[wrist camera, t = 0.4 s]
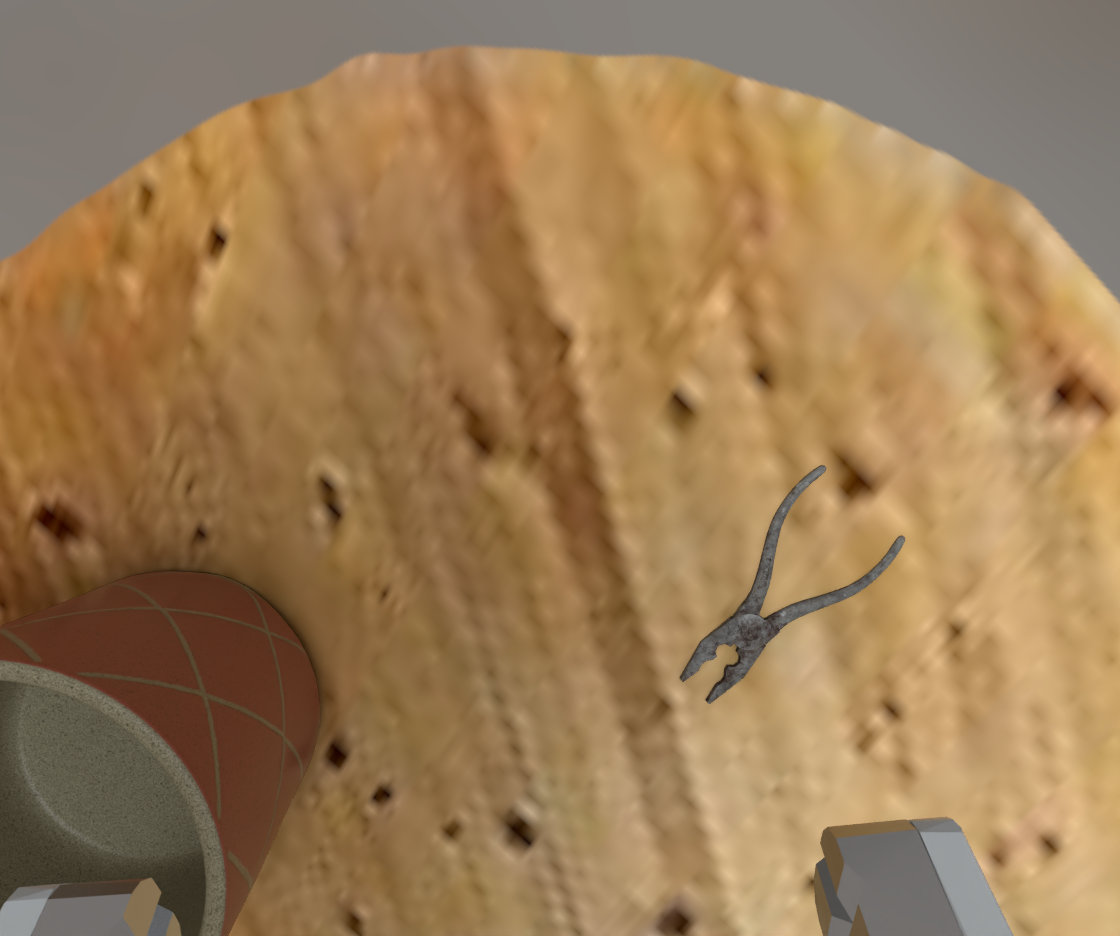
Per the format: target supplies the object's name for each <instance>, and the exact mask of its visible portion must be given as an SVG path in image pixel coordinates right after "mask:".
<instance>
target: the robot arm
mask: <svg viewBox="0 0 1120 936" xmlns="http://www.w3.org/2000/svg"><path fill="white" fill-rule="evenodd" d="M820 844H821V847H822V850H823V853H824V858H823V859H822V860H821V861H819V862H818V863H817V864H816V868H815V875H814V892H815V904H816V908H817V913H818V918H819V923H820V926H821V930H822V933H823V936H1013V934H1012V932H1011V930H1010V928H1009V926H1008V924H1007V921H1006V919H1005V917H1004V915H1003V913H1002V911H1001V909H1000V907H999V905H998V903H997V901H996V899H995V897H994V895H993V893H992V891H991V889H990V887H989V885H988V882H987V880H986V878H985V876H984V874H983V872H982V870H981V868H980V866H979V864H978V862H977V860H976V858H975V856H974V854H973V852H972V850H971V848H970V846H969V843H968V841H967V839H966V837H965V835H964V833H963V831H962V829H961V827H960V826H959V825H958V824H957V823H956V822H955V821H954V820H953V819H951V818H948V817H939V818H926V819H914V820H895V821H885V822H874V823H864V824H853V825H843V826H832V827H827V828H826V829H824V830H823V833H822V837H821V842H820ZM160 895H161V891H160V889H159V888H158V886H157V885H156V883H155V882H154V880H153V879H152V878H139V879H126V880H112V881H99V882H86V883H63V884H51V885H40V886H29V887H18V888H17V890H16V891H15V892H14V893H13V894H12V895H11V896H10V897H9V898H8V900H7V901H6V902H5V903H4V904H3V906H2V908H1V910H0V936H181V930H180V925H179V922H178V920H177V918H176V917H175V915H174V913H173V912H172V911H170V910H168V909H166V908H164V907H162V906H160V905H158V901H159V898H160Z"/></svg>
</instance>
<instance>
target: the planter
mask: <svg viewBox="0 0 1120 936" xmlns="http://www.w3.org/2000/svg"><path fill="white" fill-rule="evenodd" d="M319 727H320V700H319V693H318V687H317V682H316V678H315V675H314V671H313V668H312V666H311V663H310V660H309V658H308V656H307V654H306V652H305V650H304V648H303V646H302V644H301V642H300V641H299V639H298V638H297V636H296V635H295V633H294V632H293V630H292V629H291V628H290V626H289V625H288V624H287V623H286V622H285V620H284V619H283V618H282V617H281V616H280V615H279V614H278V613H277V612H276V611H275V610H274V609H273V608H272V607H271V606H270V605H269V604H268V603H267V602H266V601H265V600H264V599H262V598H261V597H260V596H259V595H258V594H256V593H255V592H254V591H252V590H251V589H249V588H248V587H246V586H244V585H243V584H241V583H239V582H237V581H235V580H232V579H230V578H227V577H224V576H221V575H216V574H208V573H196V572H181V571H163V572H152V573H145V574H139V575H135V576H131V577H127V578H124V579H121V580H118V581H115V582H112V583H110V584H107V585H105V586H102V587H100V588H98V589H95V590H93V591H91V592H88V593H86V594H83V595H81V596H78V597H75V598H73V599H70V600H68V601H65V602H63V603H60V604H58V605H55V606H53V607H50V608H47V609H45V610H42V611H39V612H37V613H34V614H31V615H28V616H26V617H23V618H20V619H18V620H15V621H12V622H10V623H7V624H4V625H2V626H0V910H1V908H2V906H3V904H4V903H5V902H6V901H7V900H8V898H9V897H10V896H11V895H12V894H13V893H14V892H15V891H16V890H17V888H18V887H29V886H40V885H51V884H63V883H86V882H99V881H112V880H126V879H139V878H152V879H153V880H154V882H155V883H156V885H157V886H158V888H159V889H160V891H161V895H160V898H159V901H158V905H160V906H162V907H164V908H166V909H168V910H170V911H172V912H173V913H174V915H175V917H176V918H177V920H178V922H179V925H180V930H181V936H228V935H229V933H230V931H231V929H232V927H233V925H234V923H235V921H236V919H237V917H238V915H239V913H240V911H241V909H242V907H243V905H244V903H245V901H246V899H247V897H248V895H249V893H250V890H251V888H252V886H253V884H254V882H255V880H256V878H257V876H258V874H259V872H260V870H261V868H262V865H263V863H264V861H265V859H266V856H267V854H268V852H269V850H270V847H271V845H272V843H273V840H274V838H275V836H276V834H277V831H278V829H279V827H280V825H281V823H282V820H283V818H284V816H285V814H286V812H287V810H288V808H289V805H290V803H291V801H292V799H293V797H294V795H295V793H296V790H297V788H298V786H299V784H300V782H301V780H302V778H303V776H304V774H305V772H306V770H307V767H308V765H309V762H310V760H311V757H312V754H313V751H314V747H315V744H316V740H317V736H318V732H319Z"/></svg>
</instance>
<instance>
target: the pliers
mask: <svg viewBox="0 0 1120 936" xmlns="http://www.w3.org/2000/svg"><path fill="white" fill-rule="evenodd" d="M825 471H826V467H825V466H819V467H818V468H816V469H814V470H813V471H812V472H810V473H809V474H808V475H807V476H805V477H804V478H803V479H802V480H801V481H800V482H799V483H798V484H797V485H796V486H795V487H794V488H793V489H792V491H791V492H790V493H789V494H788V496H787V497H786V498H785V499H784V501H783V502H782V504H781V505H780V507H779V508H778V510H777V512H776V514H775V516H774V518H773V520H772V522H771V525H770V527H769V530H768V533H767V537H766V541H765V545H764V548H763V552H762V556H761V560H760V564H759V568H758V572H757V575H756V578H755V581H754V584H753V586H752V589H751V591H750V593H749V594H748V596H747V598H746V599H745V601H744V602H743V603H742V604H741V606H740V607H739V609H738V610H737V611H736V613H735V614H734V615H733V617H730V618H729V619H728V620H727V621H725V622H724V623H723V624H722V625H720V626H719V627H718V628H717V629H715V630H714V631H713V632H712V633H710V634H709V635H708V636H706V637H705V638H704V639H703V640H701V642H700V643H699V645H698V647H697V649H696V650H695V652H694V654H693V656H692V657H691V659H690V661H689V663H688V664H687V666H686V668H685V670H684V671H683V673H682V675H681V677H680V678H681V680H682V682H684V681H685V680H687V679H688V678H689V677H691V676H692V675H693V674H695V673H696V672H697V671H699V669H700V668H699V667H700V666H701V665H702V663H703V662H705V661H708V660H713V659H714V658H716V657H717V655H716V649H717V647H718V646H719V645H722V644H726V645H728V646H732V645H733V644H735V645H736V646H737V649H736V651H737V653H738V654H739V660H738V662H737V663H735V664H734V665H727V666H726V667H725V671H724V673H725V674H724V677H723V678H722V679H721V681H719V682H717V683H716V684H715V686H714V687H713V689H712V691H711V692H710V694H709V696H708V697H707V699H706V701H707V703H709V704H710V703H712V702H713V701H714V700H716V699H717V698H718V697H719V696H721V695H722V694H723V693H725V692H726V691H727V690H728V689H730V688H731V687H732V686H734V685H735V684H736V683H737V682H739V681H740V680H741V679H743V678H744V676H745V675H746V674H747V672H748V671H749V669H750V668H751V667H752V665H753V664H754V662H755V661H756V660H757V658H758V657H759V655H760V654H761V652H762V651H763V649H764V648H765V646H766V644H767V643H768V642H769V641H770V640H771V639H772V638H774V637H775V636H776V635H777V634H778V633H779V632H780V629H782V628H783V627H784V626H785V625H787V624H788V623H789V622H791V621H793V620H795V619H797V618H799V617H801V616H804V615H806V614H808V613H811V612H813V611H816V610H819V609H821V608H824V607H827V606H829V605H832V604H834V603H837V602H840V601H842V600H844V599H847V598H849V597H851V596H853V595H855V594H856V593H858V592H859V591H861V590H863V589H864V588H866V587H867V586H868V585H869V584H870V583H872V582H873V581H874V580H875V579H876V578H877V577H878V576H879V575H880V574H881V573H882V572H883V571H884V570H885V569H886V568H887V567H888V566H889V565H890V563H891V562H892V561H893V560H894V558H895V557H896V555H897V554H898V552H899V551H900V549H901V548H902V546H903V544H904V542H905V537H904V536H899V537H898V538H897V539H896V541H895V542H894V544H893V545H892V547H891V548H890V550H889V551H888V553H887V554H886V555H885V556H884V558H883V559H882V560H881V561H880V562H879V563H878V564H877V565H876V566H875V567H874V568H873V569H872V570H871V571H870V572H869V573H867V574H866V575H865V576H863V577H862V578H861V579H859V580H858V581H856V582H854V583H852V584H851V585H849V586H846V587H844V588H841V589H839V590H836V591H833V592H830V593H827V594H823V595H820V596H817V597H814V598H810V599H806V600H803V601H800V602H797V603H794V604H791V605H789V606H787V607H785V608H783V609H781V610H779V611H777V612H775V613H773V614H771V615H769V616H768V617H767V618H764V619H763V618H762V617H760V616H759V614H760V610H761V607H762V605H763V602H764V599H765V596H766V593H767V590H768V587H769V584H770V580H771V575H772V570H773V563H774V557H775V552H776V547H777V542H778V537H779V534H780V530H781V526H782V524H783V522H784V519H785V517H786V515H787V513H788V511H789V510H790V508H791V507H792V505H793V503H794V502H795V501H796V499H797V498H798V497H799V495H800V494H801V493H802V492H803V491H804V490H805V489H806V488H807V487H808V486H809V485H810V484H811V483H812V482H813V481H815V480H816V479H817V478H818V477H819V476H821V475H822V474H823V473H824V472H825Z"/></svg>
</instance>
